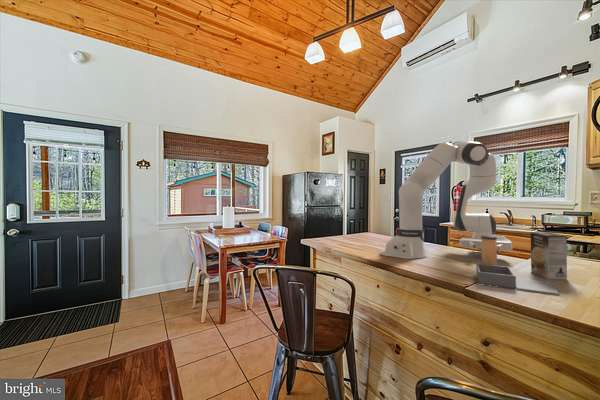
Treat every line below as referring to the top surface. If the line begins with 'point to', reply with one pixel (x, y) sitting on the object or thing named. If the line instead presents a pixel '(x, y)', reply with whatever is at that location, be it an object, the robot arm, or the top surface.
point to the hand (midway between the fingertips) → (486, 246)
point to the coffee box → (549, 255)
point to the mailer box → (510, 280)
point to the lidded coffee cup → (489, 250)
